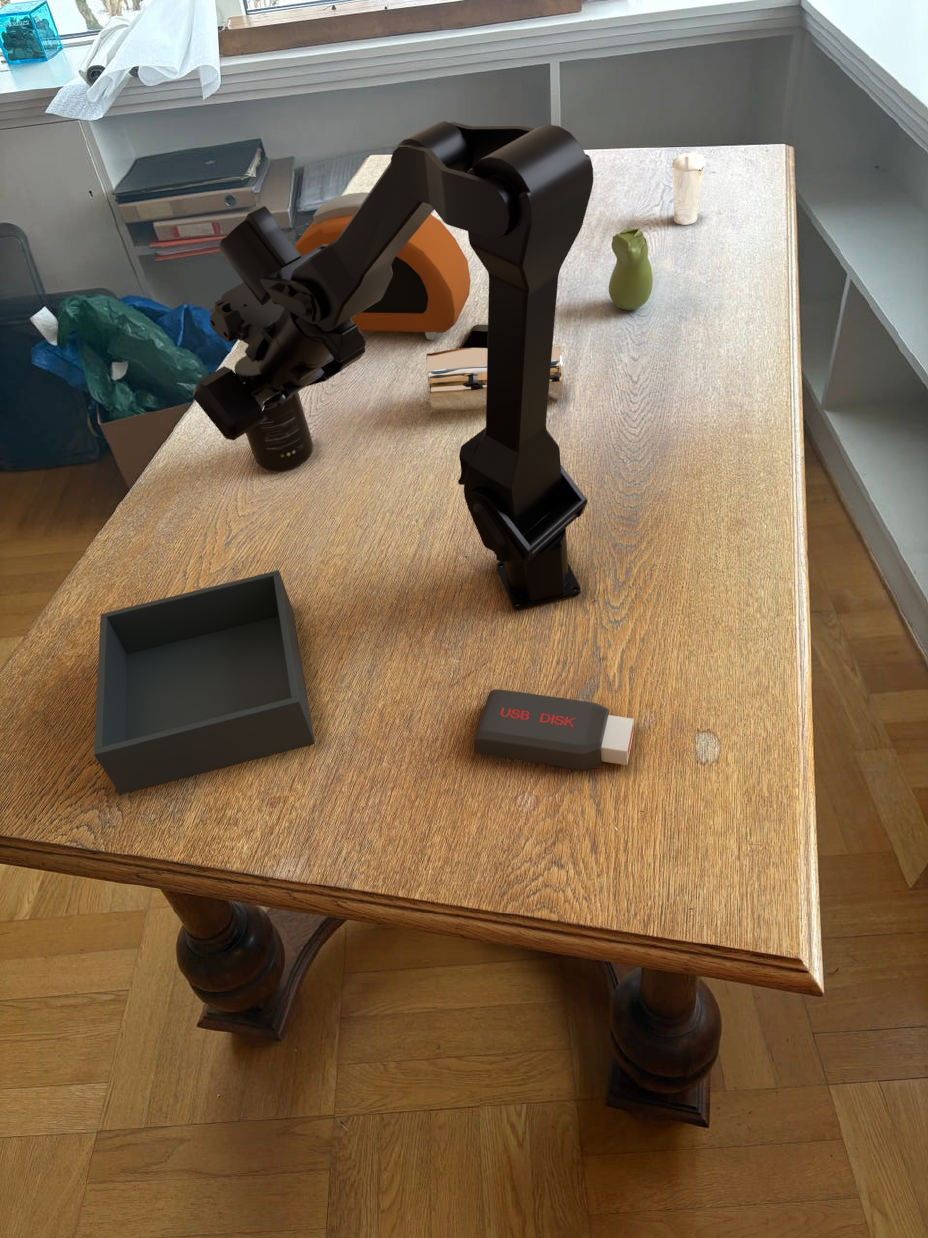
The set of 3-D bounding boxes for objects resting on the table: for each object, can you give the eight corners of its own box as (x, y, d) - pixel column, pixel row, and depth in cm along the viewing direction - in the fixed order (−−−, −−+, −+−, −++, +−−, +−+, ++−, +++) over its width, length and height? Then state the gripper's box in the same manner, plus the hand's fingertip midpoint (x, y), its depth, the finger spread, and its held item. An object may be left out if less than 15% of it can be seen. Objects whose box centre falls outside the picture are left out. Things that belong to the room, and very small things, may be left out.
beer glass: (559, 328, 105) (424, 340, 106) (565, 386, 104) (429, 398, 104) (555, 357, 112) (429, 368, 113) (561, 412, 111) (433, 423, 111)
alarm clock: (290, 339, 127) (256, 214, 115) (313, 306, 133) (283, 184, 121) (459, 343, 121) (442, 212, 109) (475, 308, 127) (461, 180, 115)
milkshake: (666, 229, 137) (669, 157, 130) (672, 213, 140) (675, 142, 133) (698, 229, 136) (703, 156, 128) (703, 213, 139) (708, 141, 132)
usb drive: (491, 703, 79) (487, 682, 77) (635, 724, 76) (635, 702, 74) (474, 753, 76) (471, 732, 74) (625, 777, 73) (625, 756, 71)
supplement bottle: (248, 450, 110) (217, 358, 101) (303, 431, 111) (277, 338, 103) (264, 481, 105) (233, 387, 96) (322, 460, 107) (296, 366, 98)
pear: (659, 308, 121) (662, 231, 114) (623, 321, 120) (624, 244, 113) (635, 292, 125) (636, 216, 118) (600, 304, 124) (599, 228, 117)
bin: (315, 743, 78) (299, 701, 75) (119, 794, 77) (93, 754, 73) (293, 612, 90) (278, 569, 86) (123, 654, 88) (100, 613, 84)
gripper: (322, 227, 94) (278, 304, 107) (171, 309, 85) (144, 382, 99) (392, 320, 95) (340, 384, 109) (250, 410, 86) (213, 468, 100)
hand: (261, 402), depth 104 cm, fingers closed on supplement bottle, 7 cm apart
